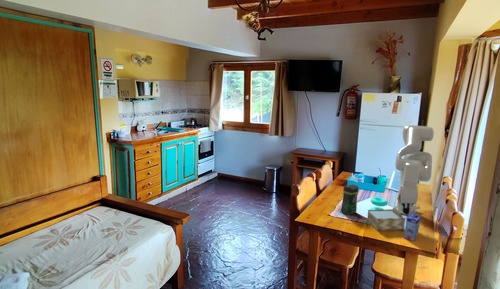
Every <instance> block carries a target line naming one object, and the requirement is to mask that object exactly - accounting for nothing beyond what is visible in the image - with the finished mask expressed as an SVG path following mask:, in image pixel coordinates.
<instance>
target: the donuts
mask: <svg viewBox="0 0 500 289" xmlns="http://www.w3.org/2000/svg"><path fill="white" fill-rule="evenodd" d="M370 202H371V203H372V205H374V206H373V207H371V208H370V209H369V210H384V209H385V208H383V207H385V206H387V205H388V203H389V201H388V200H387V199H386V198H383V197H380V196H379V197H378V196H373V197H372V198H370Z"/></svg>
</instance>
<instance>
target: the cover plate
mask: <svg viewBox="0 0 500 289" xmlns="http://www.w3.org/2000/svg"><path fill="white" fill-rule="evenodd" d="M392 209H393V210H392V211H369V213H370V214H371V215H372V216H373V217H374V218H375V219H376V220H377V221H378V218H404V217H403V214H402V213H401V212H400V211H399V210H397V209H396V208H394V207H393V208H392Z"/></svg>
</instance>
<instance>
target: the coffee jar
mask: <svg viewBox="0 0 500 289" xmlns="http://www.w3.org/2000/svg"><path fill="white" fill-rule="evenodd" d="M359 189H360V188H359V186H358V185H357V184H354V183H352V184H347V185H344V186H343V190H342V193H343V196H342V203H341V208H340V211H341V213H342V214H345V215H349V216H351V215H354V214H356V213H357V209H358V208H357V207H358V206H357V205H358V195H359Z"/></svg>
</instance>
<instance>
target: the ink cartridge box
mask: <svg viewBox="0 0 500 289" xmlns="http://www.w3.org/2000/svg"><path fill="white" fill-rule="evenodd" d="M421 218H422V215H421V214H420V213H419V212H415V213H412V212H411V213H410V215H407V217H406V220H405V226H404V234H403V238H404V239H406V240H410V241H412V242H414V241H415V240H416V238H417V237H418V235H419V229H420V223H421Z"/></svg>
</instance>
